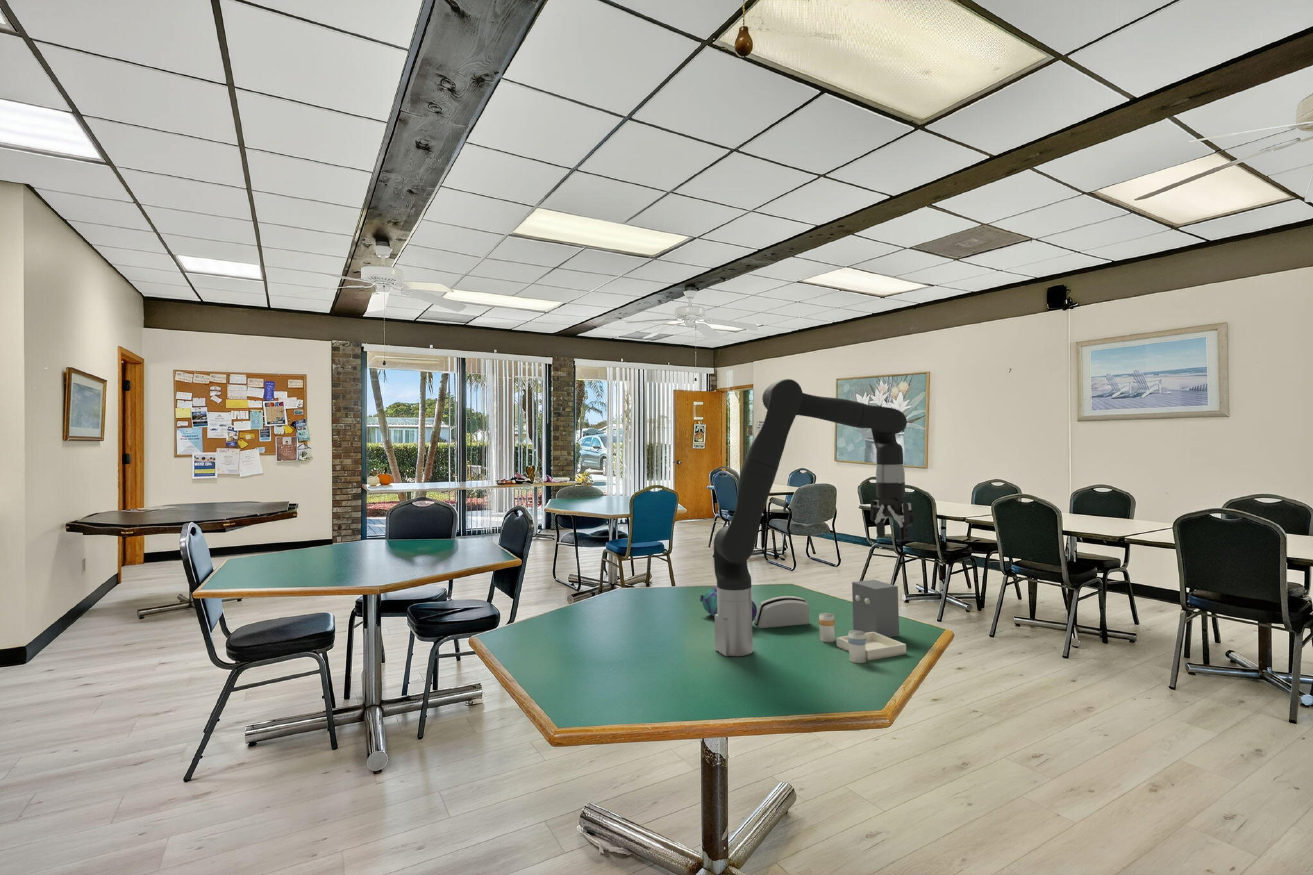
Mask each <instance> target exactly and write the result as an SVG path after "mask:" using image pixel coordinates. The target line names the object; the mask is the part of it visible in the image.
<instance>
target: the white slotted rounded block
mask: <svg viewBox="0 0 1313 875" xmlns="http://www.w3.org/2000/svg"><path fill="white" fill-rule="evenodd" d="M753 624H754V625H757V627H758V628H759V629H764V628H766V629H767V628H777V627H778V628H779V627H787V626H789V627H790V626H798V625H799V626H800V625H809V624H810V605H809V603H808V602H807V601H806V600H805V599H804V598H803V597H799V596H795V595H794V596H793V595H792V596H790V595H784V596H783V595H782V596H776V597H771V598H769V599H765V600H763V601H761V602H760V603H759V607H758V609H757V615H756V617H755V619H754V621H753Z"/></svg>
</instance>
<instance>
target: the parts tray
mask: <svg viewBox="0 0 1313 875" xmlns="http://www.w3.org/2000/svg"><path fill="white" fill-rule="evenodd" d="M848 636H849V634H847V635H844V636H843V635H842V636H837V637H836V647H837V648H838V649H841V650H843V651H846V652H848V653H849V642H848ZM865 637H866V662H867V661H874V660H880V659H886V658H892V657H898V656H903V655H907V644H906V643H904V642H901V641H899V640H896V639H893V638H892V637H886V636H883V635H881V634H878V633H875V632H868V633H865Z"/></svg>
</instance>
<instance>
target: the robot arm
mask: <svg viewBox="0 0 1313 875" xmlns="http://www.w3.org/2000/svg"><path fill="white" fill-rule="evenodd" d="M761 398H762V399H761V400H762V403H763V404H762V405H763V406H764V408H765V409H766V410H767V411H766V414H765V418H764V421H763V423H762V425H761V428H760V430H759V431H758V433H757V435H756V437H755V438H754V440H753V442H752V443H751V445H750V447H749V448H748V450H747V453H746V454H745V458H744V460H743V463H742V466H741V468H740V469H741V470H740V473H739V477H738V484H737V495H736V496H737V497H736V498H737V499H736V505H735V510H734V513H733V516H732V518H731V521H730V523H729V525H724V526H723V527H720V529H719V530H718V531H717V532H716V534H715V536H714V538H713V563H714V564H713V565H714V566H713V567H714V575H715V578H716V586H717V610H718V614H715V617H714V646H715V647H714V648H715V649H716V652H718V651H719V652H718V653H720V654H721V655H723V656H724V657H743V656H744V657H745V656H748V655H751V654H752V653H753V651H754V649H753V648H754V641H753V634H754V633H753V622H752V601H753V598H752V596H753V595H752V592H753V591H752V576H751V574H750V571H749V568H748V560H749V558H750V557H751V556H752V554H753V552H754V549H755V545H756V541H757V537H758V532H759V528H760V524H761V523H760V522H761V519H762V516H763V512H764V511H765V507H766V504H767V502H768V499H769V497H770V496H769V495H770V493H771V490H772V487H773V485H774V483H775V482H774V481H775V479H776V476H777V472H778V470H779V466H780V463H781V460H782V457H783V453H784V449H785V447H786V443H787V440H788V436H789V432H790V431H791V429H792V426H793V423H794V421H795V419H796V417H797V416H802V417H809V418H814V419H819V420H823V421H828V422H831V423H835V424H839V425H843V426H848V427H853V428H857V429H871V434H872V439H873V443H874V446H875V450H876V454H875V455H876V457H875V458H876V469H875V481H876V482H875V485H876V489H875V490H876V497H877V498H879V499H872V500H870V510H869V512H870V513H869V514H870V516H869V517H870V520H871V522H874V523H875V525H876V535H877V537H878V538H885V536H886V528H885V526H886V525H885V522H886V520H887V519H888V518H891V519H892V518H893V519H894V521H896V522H897V524H898V525H899V528H898V530H899V531H898V532H899V537H898V538H899V541H900V542H908V539H909V527H910V526H911V527H912V526H914V525H915V523H916V522H915V512H914V504H913V503H912V502H904V498H905V497H906V477H905V476H906V475H905V468H904V451H903V446H902V445H901V444H900V443H899V442H897V438H896V437H897V436H896V435H897V434H900V433H901V432H903V431H904V430H905V428H906V427H907V423H908V419H907V416H906V414H904V413H903V412H902V411H901V410H899V409H897V408H894V407H890V406H889V407H887V406H882V405H881V406H880V405H872V404H866V403H864V402H861V401H856V400H851V399H845V398H839V397H838V398H837V397H828V396H820V395H813V394H810V393H809V394H808V393H805V392H803V389H802V387H801V385H800V383H798V382H797V381H796V380H794V379H789V378H785V379H780V380H777V381H776V382H773V383H771V384H770V385H769V386H767V387H766V388H765V390H764V391H763V393H762V397H761ZM715 649H714V650H715Z"/></svg>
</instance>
